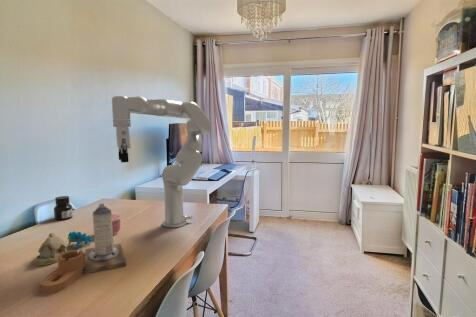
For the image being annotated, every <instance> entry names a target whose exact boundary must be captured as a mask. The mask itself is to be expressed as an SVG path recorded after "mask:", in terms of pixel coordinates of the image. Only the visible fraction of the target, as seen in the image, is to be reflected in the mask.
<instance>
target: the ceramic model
mask: <svg viewBox="0 0 476 317" xmlns="http://www.w3.org/2000/svg"><path fill="white" fill-rule="evenodd" d="M67 246H68V244H67V243H66V242H65V241H64V240H63V239H62V238H60V237H59V236H57V234H55V233H54V232H53V233H49V234H48V237H47V238H46V239H45V240H44V241H43V242H42V243H41V245H40V247H39V248H38V251H37V252H38V254H39V255H37V256H36V257H35V259H34V263H35V264H36V266H46V265H51V264H55V263H57V262H58V256H59V255H60V254H62V253H64V252H67V251H69V250H68V249H67V248H68V247H67Z"/></svg>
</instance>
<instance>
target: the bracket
mask: <svg viewBox="0 0 476 317" xmlns="http://www.w3.org/2000/svg"><path fill="white" fill-rule="evenodd" d="M57 262H58V263H57V264H58V267H57V268H55V269H54V270H53V271H51V272H49V274H47V275H46V276H45V277H42V278H41V280H40V281H39V287H40V292H41V293H42V294H43V293H44V294H53V293H57V292H60V291H64V290H65V289H66V288H68V287H69V286H70V285H71V284H72V283H74V282H75V281H76V280H77V279H78V278H79V277H81V276H82V274H85V251H83V250H79V251H78V249H75V250H74V249H73V250H68V251H67V252H64V253H62V254H60V255H59V256H58V261H57Z"/></svg>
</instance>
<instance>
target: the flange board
mask: <svg viewBox="0 0 476 317" xmlns="http://www.w3.org/2000/svg"><path fill="white" fill-rule="evenodd" d="M121 244H122V243H115V244H114V243H113V248H114V252H113V253H112V254H110V255H107V256H96V255H95V247H90V248H85V249H84V264H85V271H84V274H89V273H94V272H101V271H105V270H111V269H116V268H121V267H126V266H127V264H126V259H125V256H124V255H125V254H124V252H123V248H122V245H121Z"/></svg>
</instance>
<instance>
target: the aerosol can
mask: <svg viewBox="0 0 476 317" xmlns="http://www.w3.org/2000/svg"><path fill="white" fill-rule="evenodd" d="M92 222H93V238H94V239H93V241H94V248H95V255H96V256H107V255H110V254H112V253H113V252H114V248H113V245H114V235H113V229H112V209H109V208H108V207H107V206H105V203H99V204H98V206H97V208H96V209H95V210H93V213H92Z"/></svg>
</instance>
